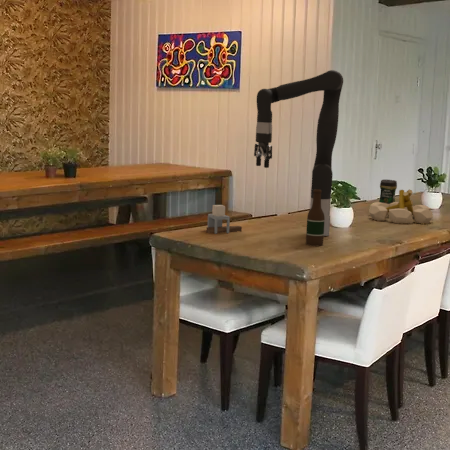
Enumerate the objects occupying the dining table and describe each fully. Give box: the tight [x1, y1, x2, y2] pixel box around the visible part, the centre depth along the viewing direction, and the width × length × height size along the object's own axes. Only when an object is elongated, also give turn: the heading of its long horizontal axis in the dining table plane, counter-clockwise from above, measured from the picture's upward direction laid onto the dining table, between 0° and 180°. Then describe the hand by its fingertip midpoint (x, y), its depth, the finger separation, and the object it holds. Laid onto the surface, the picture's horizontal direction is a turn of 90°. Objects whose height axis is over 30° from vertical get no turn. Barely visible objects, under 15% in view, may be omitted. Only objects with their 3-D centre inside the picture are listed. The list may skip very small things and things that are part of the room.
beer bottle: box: [305, 189, 325, 247], centre depth 294 cm, size 8×8×24 cm
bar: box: [205, 225, 243, 234], centre depth 318 cm, size 3×17×3 cm, turn 116°
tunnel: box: [206, 213, 231, 234], centre depth 317 cm, size 10×7×8 cm
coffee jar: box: [378, 179, 398, 204], centre depth 402 cm, size 10×8×19 cm
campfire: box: [368, 189, 434, 224], centre depth 373 cm, size 35×34×17 cm
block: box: [211, 204, 226, 216], centre depth 316 cm, size 4×4×4 cm
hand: (262, 166), depth 322 cm, fingers open, 8 cm apart
